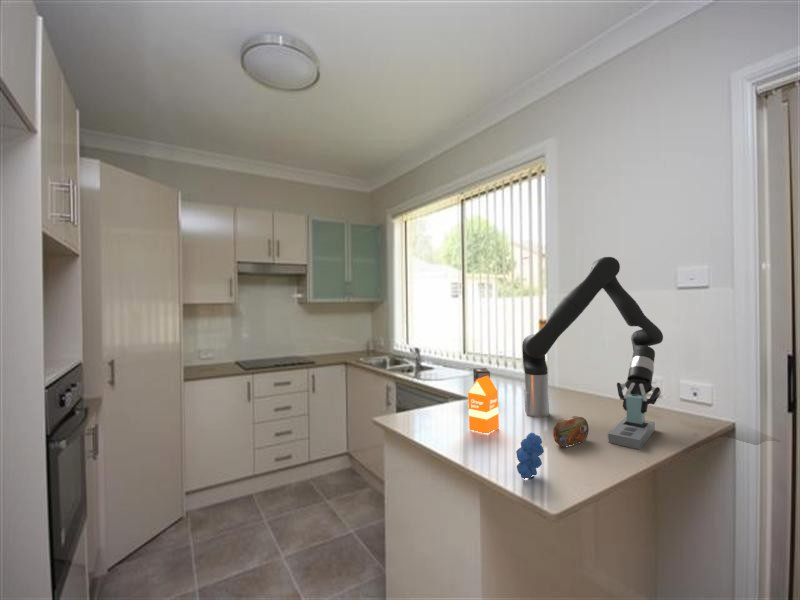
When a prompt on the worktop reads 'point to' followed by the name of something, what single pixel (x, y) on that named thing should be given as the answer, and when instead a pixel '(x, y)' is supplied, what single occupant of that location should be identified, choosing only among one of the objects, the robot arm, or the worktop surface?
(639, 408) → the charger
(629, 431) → the power strip
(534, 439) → the grapes
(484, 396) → the orange juice
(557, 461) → the worktop surface
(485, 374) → the coffee box
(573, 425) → the tin
